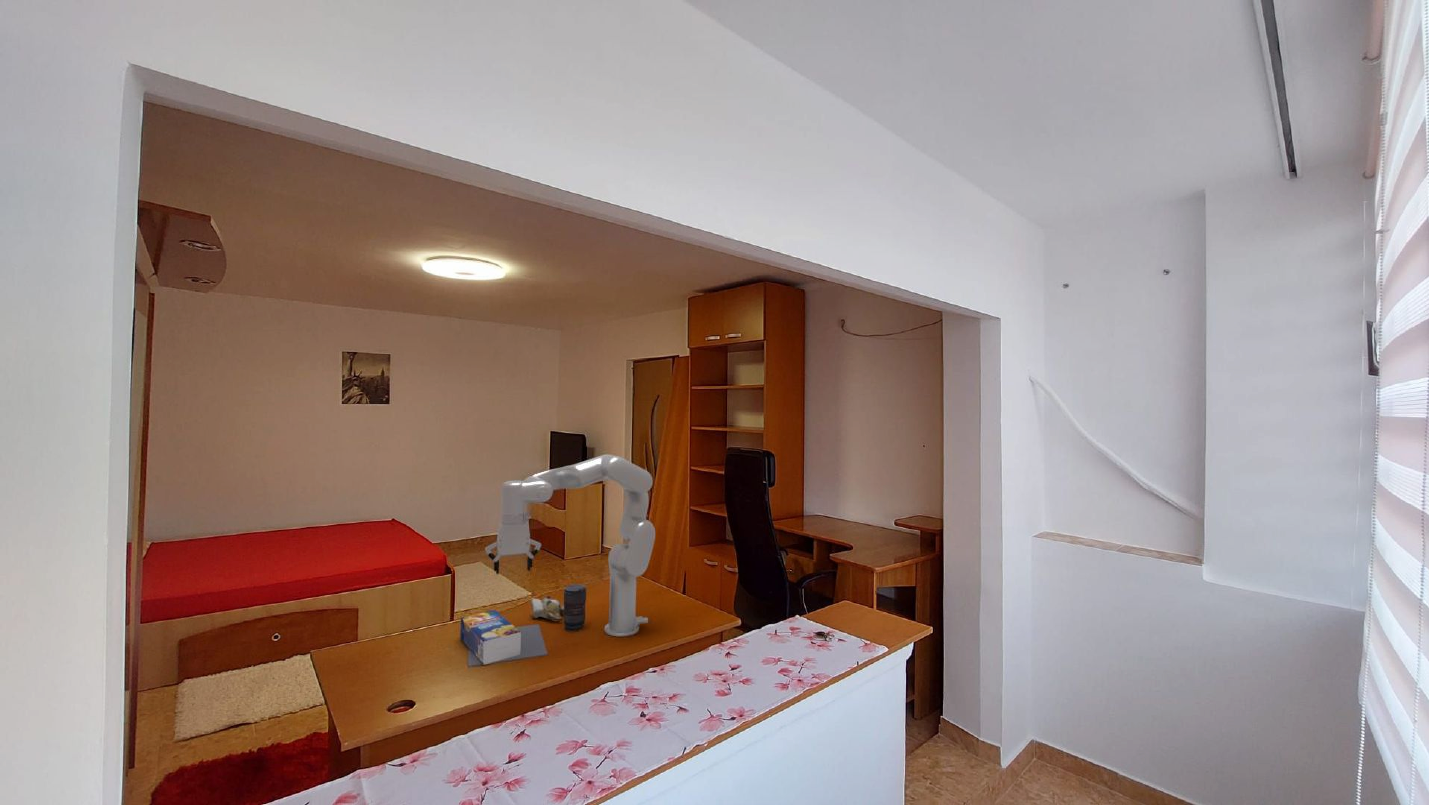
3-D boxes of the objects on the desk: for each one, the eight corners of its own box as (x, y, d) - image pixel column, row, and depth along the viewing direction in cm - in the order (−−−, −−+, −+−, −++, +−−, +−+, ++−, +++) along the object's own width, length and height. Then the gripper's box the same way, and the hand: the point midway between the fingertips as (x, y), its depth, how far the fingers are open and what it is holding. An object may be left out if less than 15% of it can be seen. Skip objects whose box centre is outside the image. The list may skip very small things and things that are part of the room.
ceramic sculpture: (538, 589, 224) (574, 594, 222) (536, 611, 224) (572, 616, 222) (525, 599, 213) (563, 604, 211) (524, 621, 214) (561, 627, 212)
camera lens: (589, 625, 212) (590, 585, 212) (577, 633, 204) (578, 592, 204) (571, 622, 214) (572, 582, 214) (558, 630, 207) (559, 589, 207)
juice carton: (483, 641, 178) (460, 617, 196) (483, 665, 178) (460, 639, 196) (521, 632, 186) (495, 609, 204) (520, 654, 186) (495, 630, 204)
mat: (538, 625, 211) (538, 624, 211) (547, 655, 187) (547, 654, 187) (468, 634, 201) (468, 633, 201) (468, 667, 177) (468, 665, 177)
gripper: (540, 515, 191) (539, 565, 191) (485, 518, 184) (484, 570, 184) (542, 519, 184) (542, 572, 184) (485, 523, 177) (484, 577, 177)
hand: (513, 571), depth 184 cm, fingers open, 9 cm apart
